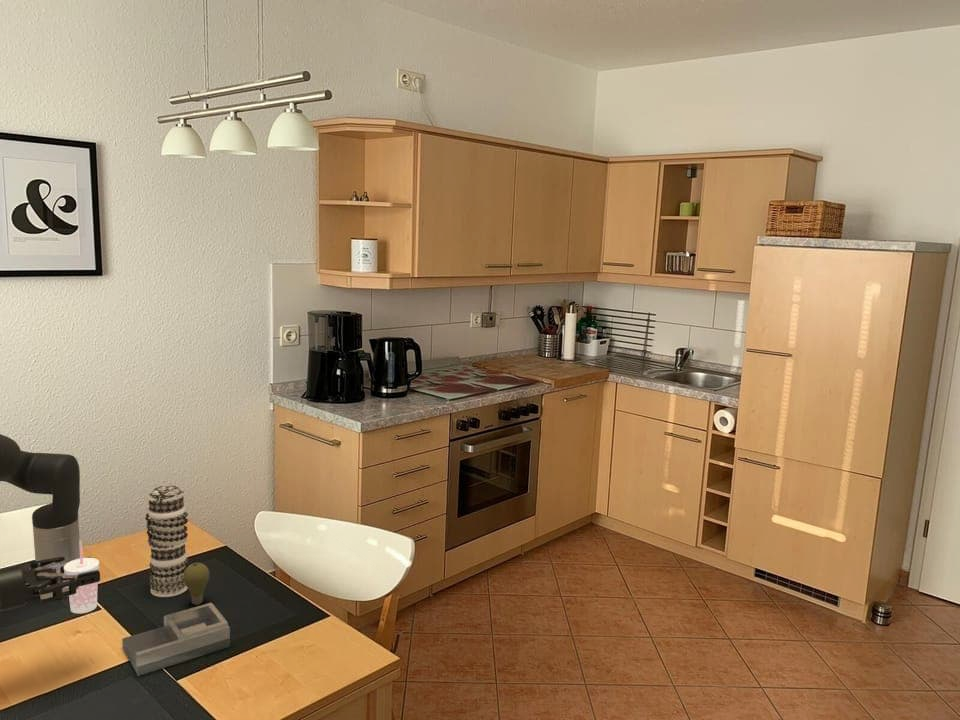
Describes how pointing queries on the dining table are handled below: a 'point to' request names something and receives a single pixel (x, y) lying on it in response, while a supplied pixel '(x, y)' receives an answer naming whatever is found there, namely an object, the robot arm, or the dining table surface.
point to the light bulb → (196, 581)
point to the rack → (178, 639)
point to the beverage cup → (86, 593)
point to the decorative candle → (167, 541)
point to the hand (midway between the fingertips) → (95, 568)
